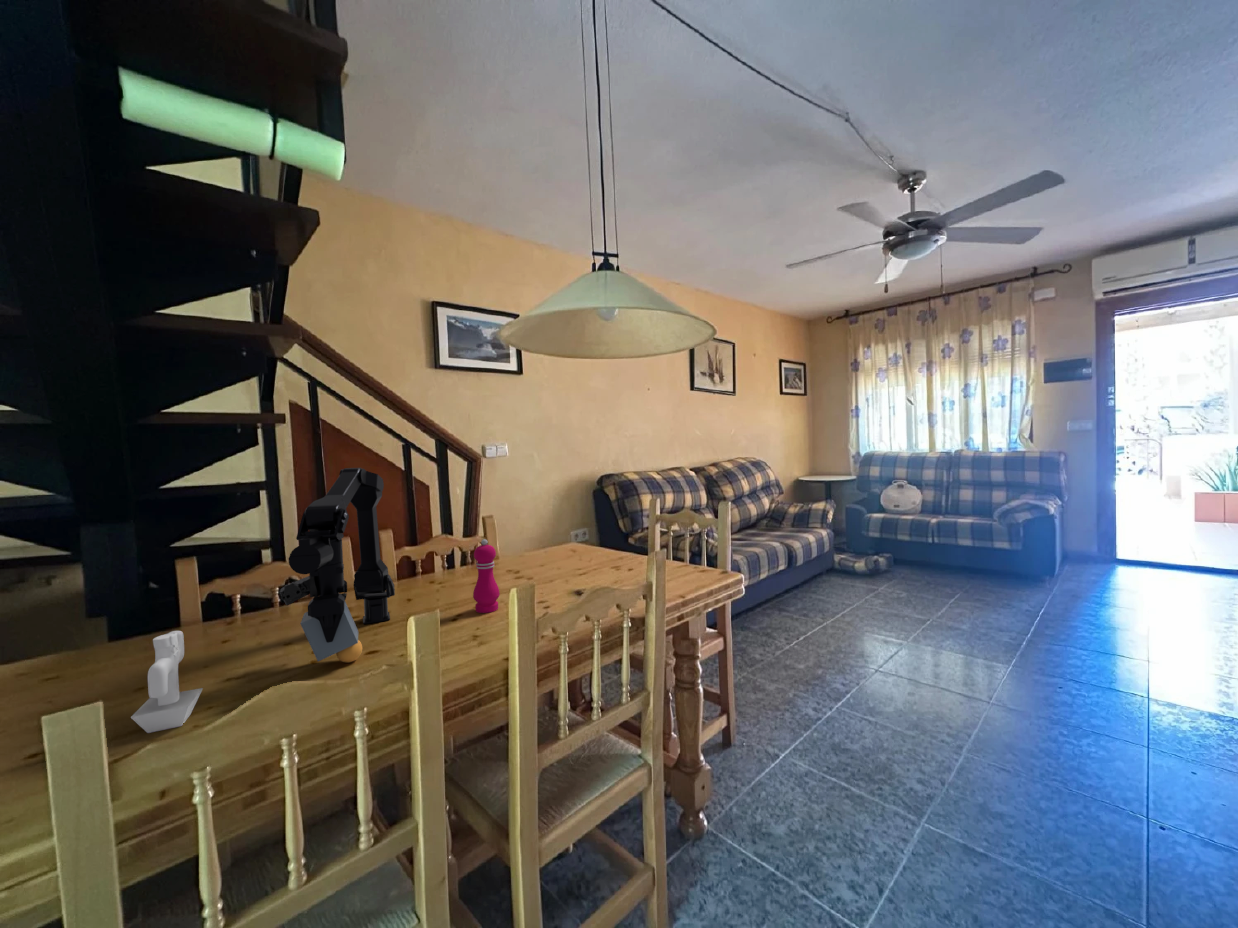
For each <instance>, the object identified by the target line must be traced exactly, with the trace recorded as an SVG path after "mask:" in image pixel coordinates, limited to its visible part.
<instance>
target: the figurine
mask: <svg viewBox="0 0 1238 928" xmlns="http://www.w3.org/2000/svg"><path fill="white" fill-rule="evenodd" d="M184 640H185V638H184V633H183V631H181V630H172V631H169V632H167V633H165V634H161V635H158V636H155V637H154V638H153V639H152V644H153V649H154V653H155V658H154V659H155V661H154V663H153V664H152V665H151V666H150V667H149V669H148V671H147V687H148V688H147V690H148V691H147V692H148V697H149V698H148V699H147V700H146V701H145V702H144V703H142V705H141V706H140V707H139V708H138V709H137V710H136V711H135V712H134V713H133V714H132V715H131V716H130V718H131V720H133V721H134V722H135V723H136V724H137V725H138V726H139V727H140V728H141V729H142V730H144V732H146V733H147V734H150V733H154V732H159V731H164V730H169V729H174V728H179V727H182V726H183V725H184V724H183V723H185V722H186V721H187V720H188V719H189V717H190V716H191V714H193V713H192V712H193V711H194V708H195V706H196V704H197V702H198V700H199V697H200V695H201V693H202V692H203V689H204V688H203V687H201V688H196V689H195V688H194V689H189V690H183V691H180V681H179V663H181V662H182V660H183V658H184V656H185V641H184Z"/></svg>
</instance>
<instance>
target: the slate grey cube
mask: <svg viewBox="0 0 1238 928" xmlns="http://www.w3.org/2000/svg"><path fill="white" fill-rule="evenodd" d="M352 616H353V615H352V614H351V611H350V609H349V607H348V605H347V602H346V601H345V609H344V613H343V615H342V618H341V620H340V623H339V626H338V628H337V631H336V634H335V637H334V639H333V641H332V642H329V643H327V642H326V639H325V636H324V633H323V630H322V627H321V624H320V621H319V620H317V619H315V618H312V617H311V616H308V611H306V612H304V614H303V616H302V618H301V621H300V627H301V628H302V630H303V632H304V635H305V637H306V639H307V641H308V643H309V646H310V647H311V650H312V652H313V655H314V657H315V658H316V661H317V662H321V661H322V660H325V659H327V658H329V657H331V656H334V655H336V653H337V652H340V651H342V650H344V649H346V648H348V647H350V646H352V645H354V644H357V643H358V640H359V630H358V627H357V626H356V622H355V621H354V618H353V617H352Z"/></svg>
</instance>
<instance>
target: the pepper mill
mask: <svg viewBox="0 0 1238 928" xmlns="http://www.w3.org/2000/svg"><path fill="white" fill-rule="evenodd" d="M488 542H489V541H488V540H487V539H485V538H484V539H482V540H481V542H480V543H481V545H478V546H477V547H475V549H474V553H473V557H474V560H475V561H476V563H475V565H476V569H477V581H476V584H475V586H474V588H473V595H472V597H473V600H474V601H475V602H476V603H475V604H474V605H475V612H476V613H478V614H488V613H493V612H495V611H498V609H499V601H498V598H499V597H500V588H499V585H498V583H497V582H496V579H495V576H494V567H495V566H496V565H495V561H494V559H495V558H496V555H497V551H496V549H495V547H494V546H493V545H490V544H488Z"/></svg>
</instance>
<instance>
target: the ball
mask: <svg viewBox="0 0 1238 928" xmlns="http://www.w3.org/2000/svg"><path fill="white" fill-rule="evenodd" d="M362 652H363V644H362V642H361V641H360V640H359V639H358V643H357V644H354V645H352V646H350V647H348V648H346V649H344V650H342V651H340V652H337V653H335V656H336V657H337V659H338V660H339V661H340V662H342V663H352V662H355V661H356V660H357V659H359V657H360V656H361V654H362Z"/></svg>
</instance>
